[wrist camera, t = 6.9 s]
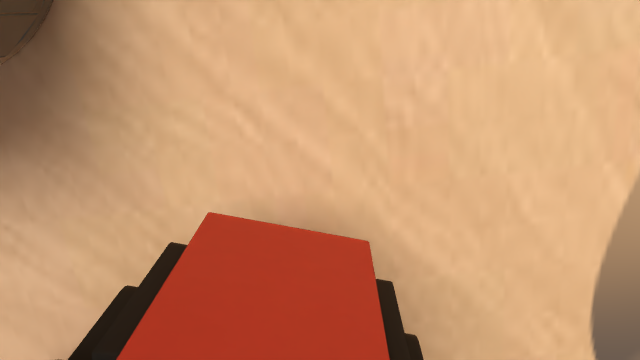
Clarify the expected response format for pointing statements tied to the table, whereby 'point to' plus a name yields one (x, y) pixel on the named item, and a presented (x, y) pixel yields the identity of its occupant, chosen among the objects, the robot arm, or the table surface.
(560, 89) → the table surface
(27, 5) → the dark gray mug
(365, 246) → the red block
